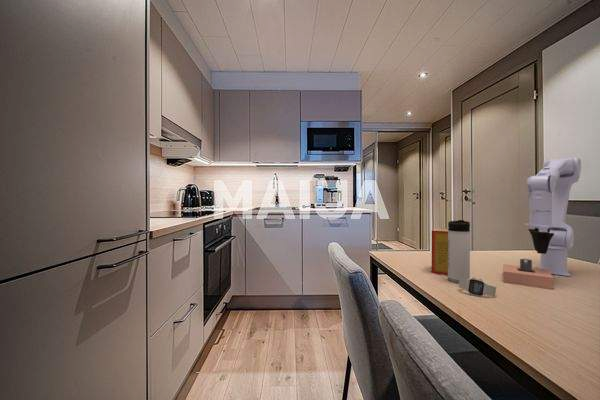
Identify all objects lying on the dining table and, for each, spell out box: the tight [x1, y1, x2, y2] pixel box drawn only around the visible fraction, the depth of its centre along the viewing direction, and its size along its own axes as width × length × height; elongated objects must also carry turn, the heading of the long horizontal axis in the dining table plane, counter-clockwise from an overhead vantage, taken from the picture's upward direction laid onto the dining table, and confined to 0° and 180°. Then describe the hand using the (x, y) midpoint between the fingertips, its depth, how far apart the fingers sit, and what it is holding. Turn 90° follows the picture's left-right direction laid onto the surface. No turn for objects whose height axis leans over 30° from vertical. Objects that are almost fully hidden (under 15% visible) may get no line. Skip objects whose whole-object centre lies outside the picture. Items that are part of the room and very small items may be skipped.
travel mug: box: [447, 219, 471, 284], centre depth 91 cm, size 6×7×20 cm
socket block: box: [502, 263, 554, 290], centre depth 91 cm, size 12×12×4 cm
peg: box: [519, 258, 533, 272], centre depth 91 cm, size 3×3×7 cm
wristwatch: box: [458, 277, 497, 298], centre depth 79 cm, size 9×6×5 cm
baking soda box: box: [431, 227, 448, 276], centre depth 102 cm, size 10×6×16 cm
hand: (540, 251), depth 92 cm, fingers open, 7 cm apart
